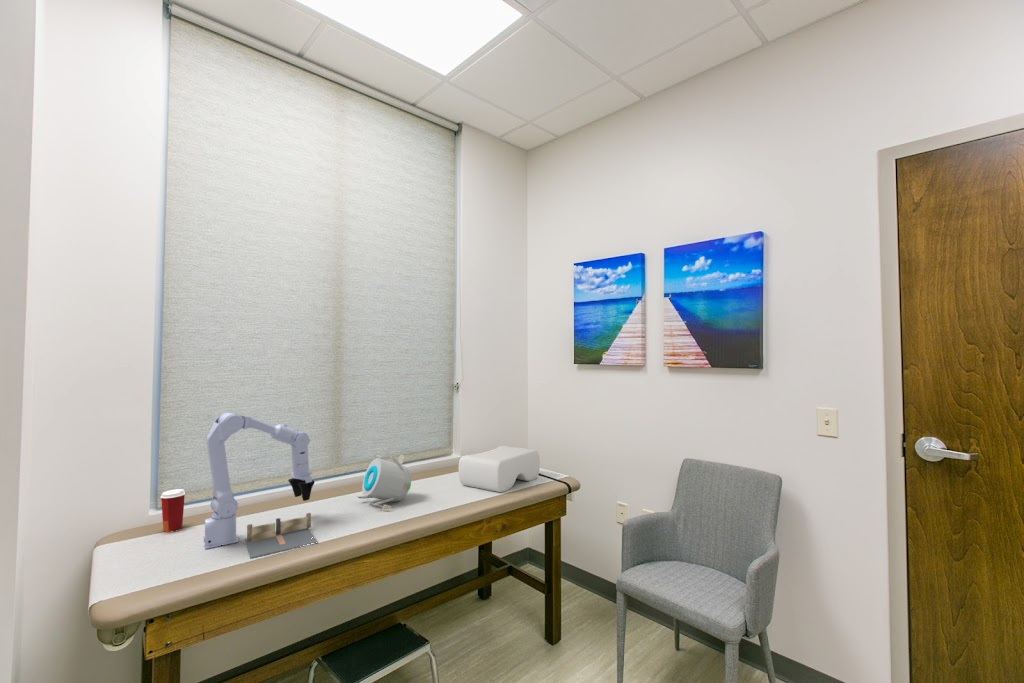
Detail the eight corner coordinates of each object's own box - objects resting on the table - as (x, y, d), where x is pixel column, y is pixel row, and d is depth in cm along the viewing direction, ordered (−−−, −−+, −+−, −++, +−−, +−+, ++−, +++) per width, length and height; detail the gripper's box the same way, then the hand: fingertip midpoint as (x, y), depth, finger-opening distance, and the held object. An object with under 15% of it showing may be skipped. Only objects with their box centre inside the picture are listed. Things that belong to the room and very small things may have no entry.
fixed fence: (247, 542, 156) (247, 526, 157) (246, 540, 158) (246, 524, 158) (275, 536, 161) (275, 520, 161) (274, 534, 163) (274, 519, 163)
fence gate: (276, 534, 161) (276, 519, 162) (275, 533, 163) (275, 518, 163) (311, 527, 168) (311, 513, 168) (310, 526, 169) (310, 512, 170)
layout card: (250, 558, 144) (250, 557, 144) (244, 539, 160) (244, 538, 160) (318, 543, 156) (318, 541, 156) (306, 526, 171) (306, 525, 171)
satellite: (428, 462, 199) (403, 457, 219) (387, 450, 189) (365, 446, 208) (411, 516, 192) (387, 506, 211) (368, 507, 181) (347, 497, 201)
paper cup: (189, 525, 175) (189, 488, 176) (178, 532, 168) (178, 493, 168) (166, 526, 174) (167, 489, 175) (154, 534, 167) (155, 495, 167)
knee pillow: (498, 495, 207) (498, 462, 207) (457, 486, 222) (457, 456, 222) (540, 477, 235) (539, 449, 236) (501, 471, 250) (501, 444, 250)
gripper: (318, 463, 175) (320, 498, 175) (303, 458, 185) (304, 491, 185) (300, 467, 170) (301, 504, 170) (284, 462, 180) (286, 496, 180)
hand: (302, 498), depth 177 cm, fingers open, 7 cm apart
